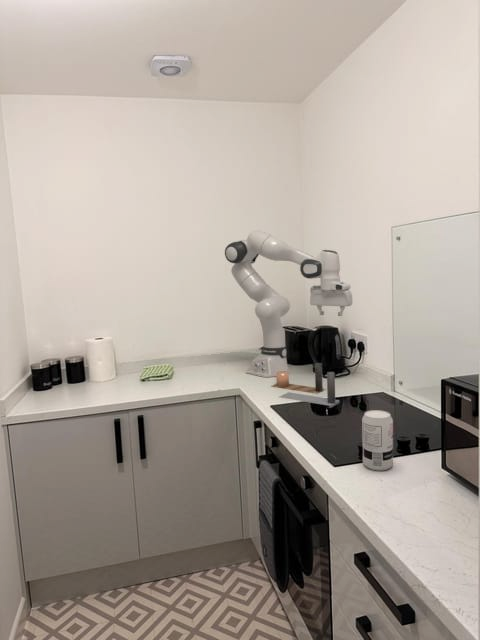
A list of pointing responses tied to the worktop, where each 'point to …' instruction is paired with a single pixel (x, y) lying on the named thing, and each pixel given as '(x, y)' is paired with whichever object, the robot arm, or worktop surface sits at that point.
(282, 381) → the tan rounded blob
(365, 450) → the supplement can
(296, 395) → the slate-grey strip
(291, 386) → the walnut strip
